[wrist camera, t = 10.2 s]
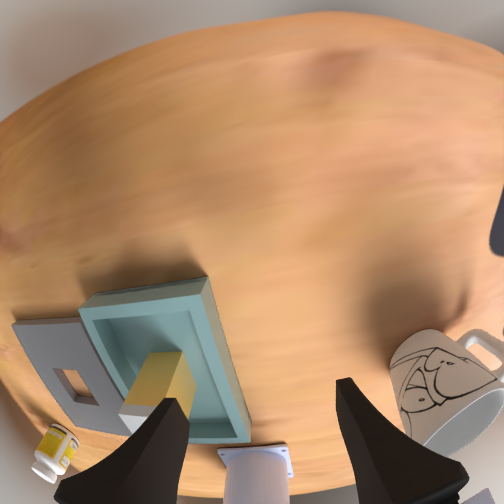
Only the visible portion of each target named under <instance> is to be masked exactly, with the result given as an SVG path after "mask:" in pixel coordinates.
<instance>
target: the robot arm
mask: <svg viewBox="0 0 504 504" xmlns="http://www.w3.org/2000/svg"><path fill="white" fill-rule="evenodd" d="M336 412H337V417H338V422H339V426H340V430H341V433H342V436H343V439H344V442H345V445H346V448H347V451H348V454H349V457H350V460H351V463H352V467H353V470H354V475H355V480H356V486H357V491H358V497H359V504H459V503H458V500H459V499H460V498H459V495H458V492H459V491H460V490H461V489H462V488H463V487H464V486H465V485H466V484H467V483H468V481H469V476H468V473H467V472H466V470H465V468H464V467H463V466H462V464H461V463H460V462H458V461H455V460H452V459H450V458H447V457H445V456H442V455H440V454H438V453H436V452H434V451H432V450H430V449H428V448H426V447H425V446H423V445H421V444H419V443H418V442H416V441H414V440H413V439H411V438H410V437H409V436H407V435H406V434H404V433H403V432H402V431H400V430H399V429H398V428H397V427H395V426H394V425H393V424H392V423H391V422H390V421H389V420H387V419H386V418H385V417H384V416H383V415H382V414H381V413H380V412H379V411H378V410H377V409H376V408H375V407H374V406H373V405H372V403H371V402H370V401H369V400H368V399H367V398H366V397H365V395H364V394H363V393H362V392H361V391H360V389H359V388H358V387H357V385H356V384H355V383H354V381H353V380H352V378H350V377H348V378H344V379H339V380H336ZM189 430H190V422H189V421H188V419H187V417H186V415H185V414H184V412H183V410H182V408H181V406H180V404H179V403H178V401H177V399H176V398H164V399H163V400H162V401H161V402H160V403H159V404H158V406H157V407H156V408H155V409H154V410H153V412H152V413H151V414H150V415H149V416H148V418H147V419H146V420H145V421H144V422H143V423H142V425H141V426H140V427H139V428H138V429H137V430H136V431H135V432H134V433H133V434H132V435H131V436H130V437H129V438H128V439H127V440H126V441H125V442H124V443H123V444H122V445H121V446H120V447H119V448H118V449H116V450H115V451H114V452H113V453H111V454H110V455H109V456H107V457H106V458H104V459H103V460H102V461H100V462H99V463H97V464H95V465H94V466H92V467H90V468H89V469H87V470H85V471H83V472H81V473H79V474H76V475H74V476H71V477H69V478H66V479H63V480H61V482H60V484H59V486H58V489H57V490H56V493H55V495H54V499H55V500H56V501H57V502H58V503H59V504H176V501H177V491H178V483H179V478H180V473H181V469H182V465H183V461H184V457H185V453H186V449H187V445H188V440H189ZM217 453H218V454H219V456H220V458H221V459H222V461H223V463H224V464H225V466H226V468H227V471H226V480H225V490H224V499H223V504H290V502H289V484H288V478H292V477H294V474H293V469H292V464H291V460H290V455H289V451H288V446H287V445H286V444H280V445H271V446H260V447H245V448H220V449H218V450H217ZM461 504H495V502H494V500H493V498H492V496H491V493H490V491H489V489H488V488H485V489H484V490H482V491H481V492H479V493H478V494H476V495H475V496H473V497H471V498H469V499H468V500H466V501H465V502H463V503H461Z"/></svg>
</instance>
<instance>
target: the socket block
mask: <svg viewBox="0 0 504 504" xmlns="http://www.w3.org/2000/svg"><path fill="white" fill-rule="evenodd" d="M11 326H12V328H13V330H14V332H15V334H16V336H17V338H18V340H19V342H20V344H21V345H22V347H23V349H24V351H25V353H26V355H27V356H28V358H29V360H30V362H31V363H32V365H33V367H34V368H35V370H36V372H37V373H38V375H39V376H40V378H41V380H42V381H43V383H44V384H45V386H46V387H47V389H48V390H49V392H50V393H51V395H52V396H53V397H54V399H55V400H56V402H57V403H58V404H59V406H60V407H61V408H62V410H63V411H64V412H65V414H66V415H67V416H68V418H69V419H70V420H71V421H72V423H73V424H74V425H75V426H76V427H81V428H85V429H90V430H94V431H99V432H105V433H110V434H116V435H123V436H131V435H132V433H131V431H130V430H129V429H128V427H127V426H126V425H125V423H124V422H123V420H122V419H121V417H120V416H119V415H118V413H119V411H120V409H121V407H122V405H123V403H124V401H125V398H124V397H123V395H122V394H121V392H120V390H119V389H118V387H117V385H116V384H115V382H114V380H113V379H112V377H111V375H110V373H109V372H108V370H107V368H106V366H105V364H104V363H103V361H102V359H101V357H100V355H99V353H98V351H97V349H96V347H95V345H94V343H93V341H92V339H91V337H90V335H89V333H88V331H87V329H86V327H85V325H84V322H83V320H82V318H81V316H80V317H66V318H51V319H33V320H17V321H16V322H15V323H13V324H12V325H11ZM62 369H69V370H77V371H78V373H79V375H80V376H81V378H82V379H83V381H84V383H85V384H86V386H87V387H88V389H89V391H90V392H91V394H92V395H93V397H94V398H91V397H84V396H78V394H77V393H76V391H75V390H74V388H73V387H72V385H71V384H70V382H69V381H68V379H67V377H66V376H65V374H64V373H63V371H62Z"/></svg>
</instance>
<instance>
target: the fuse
mask: <svg viewBox="0 0 504 504" xmlns="http://www.w3.org/2000/svg"><path fill="white" fill-rule="evenodd" d="M196 388H197V386H196V384H195V381H194V379H193V376H192V374H191V371H190V369H189V366H188V364H187V361H186V359H185V356H184V353H183V351H179V352H157V353H149V354H148V356H147V358H146V360H145V362H144V364H143V366H142V368H141V370H140V372H139V374H138V375H137V377H136V379H135V381H134V383H133V385H132V387H131V389H130V391H129V393H128V395H127V397H126V399H125V401H124V403H123V405H122V407H121V409H120V411H119V413H118V415H119V416H120V417H121V419H122V420H123V422H124V423H125V425H126V426H127V427H128V429H129V430H130V431H131V433H132V434H133V433H134V432H135V431H136V430H137V429H138V428H139V427H140V426H141V425H142V423H143V422H144V421H145V420H146V419H147V418H148V416H149V415H150V414H151V413H152V412H153V410H154V409H155V408H156V407H157V406H158V404H159V403H160V402H161V401H162V400H163V399H164V398H176V399H177V401H178V403H179V404H180V406H181V408H182V410H183V412H184V414H185V415H186V417H187V419H189V415H190V411H191V407H192V403H193V399H194V395H195V391H196Z"/></svg>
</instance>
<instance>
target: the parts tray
mask: <svg viewBox="0 0 504 504" xmlns="http://www.w3.org/2000/svg"><path fill="white" fill-rule="evenodd" d="M78 311H79V313H80V316H81V318H82V320H83V322H84V325H85V327H86V329H87V331H88V333H89V335H90V337H91V339H92V341H93V343H94V345H95V347H96V349H97V351H98V353H99V355H100V357H101V359H102V361H103V363H104V364H105V366H106V368H107V370H108V372H109V373H110V375H111V377H112V379H113V380H114V382H115V384H116V385H117V387H118V389H119V390H120V392H121V394H122V395H123V397H124V398H125V399H126V397H127V395H128V393H129V391H130V389H131V387H132V385H133V383H134V381H135V379H136V377H137V375H138V374H139V372H140V370H141V368H142V366H143V364H144V362H145V360H146V358H147V356H148V354H149V353H157V352H179V351H183V353H184V356H185V359H186V361H187V364H188V366H189V369H190V371H191V374H192V376H193V379H194V381H195V384H196V386H197V388H196V391H195V395H194V399H193V403H192V407H191V411H190V415H189V419H188V421H189V422H190V430H189V440H188V443H193V444H226V443H248V442H251V422H252V421H251V418H250V415H249V412H248V409H247V406H246V403H245V400H244V397H243V394H242V390H241V387H240V384H239V381H238V378H237V375H236V372H235V368H234V365H233V362H232V359H231V355H230V352H229V349H228V345H227V342H226V338H225V335H224V332H223V328H222V325H221V321H220V318H219V314H218V310H217V307H216V303H215V300H214V296H213V292H212V288H211V285H210V281H209V277H208V276H207V277H201V278H194V279H188V280H181V281H175V282H168V283H162V284H155V285H149V286H142V287H135V288H128V289H121V290H114V291H107V292H100V293H95V294H94V295H92V296H91V297H90V298H89V299H88V300H87V301H86V302H85V303H84V304H83V305H81V306H80V307H79V308H78Z"/></svg>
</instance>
